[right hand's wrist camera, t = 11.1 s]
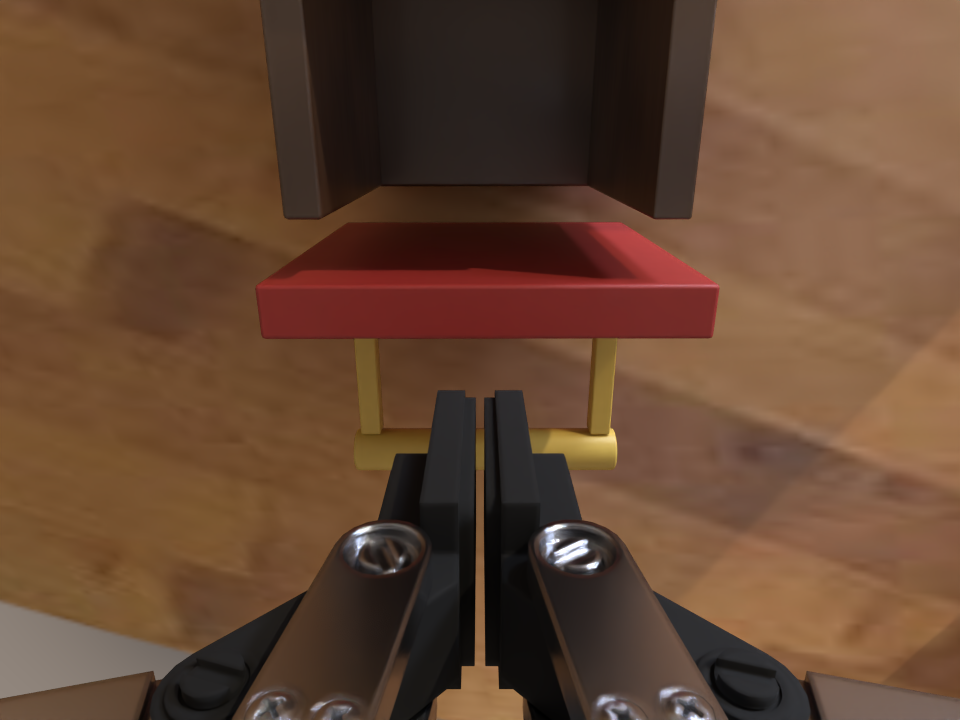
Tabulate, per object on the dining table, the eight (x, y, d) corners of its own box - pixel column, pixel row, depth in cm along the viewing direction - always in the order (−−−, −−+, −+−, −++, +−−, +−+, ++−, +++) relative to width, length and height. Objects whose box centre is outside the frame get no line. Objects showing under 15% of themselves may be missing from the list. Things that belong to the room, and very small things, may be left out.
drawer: (608, 397, 24) (684, 553, 15) (359, 397, 24) (288, 553, 15) (675, -448, 16) (927, -1196, 7) (294, -448, 16) (55, -1196, 7)
